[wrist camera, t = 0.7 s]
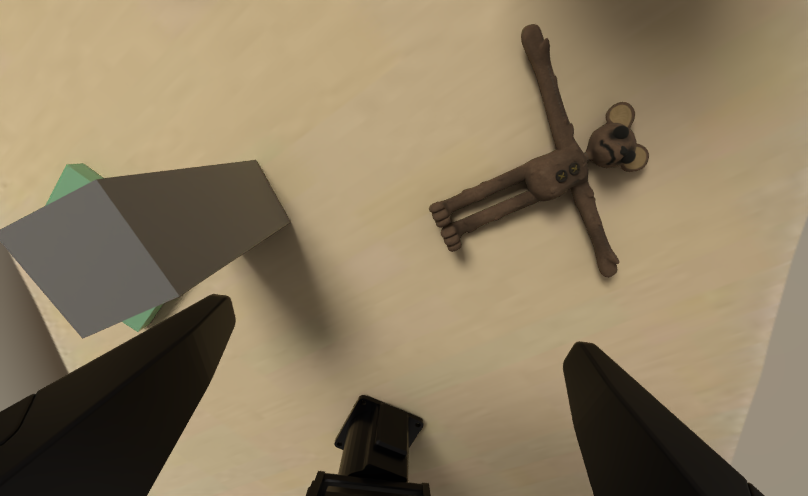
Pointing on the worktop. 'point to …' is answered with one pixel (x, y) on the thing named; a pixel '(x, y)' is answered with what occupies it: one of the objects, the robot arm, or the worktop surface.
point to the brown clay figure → (553, 164)
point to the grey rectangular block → (142, 238)
